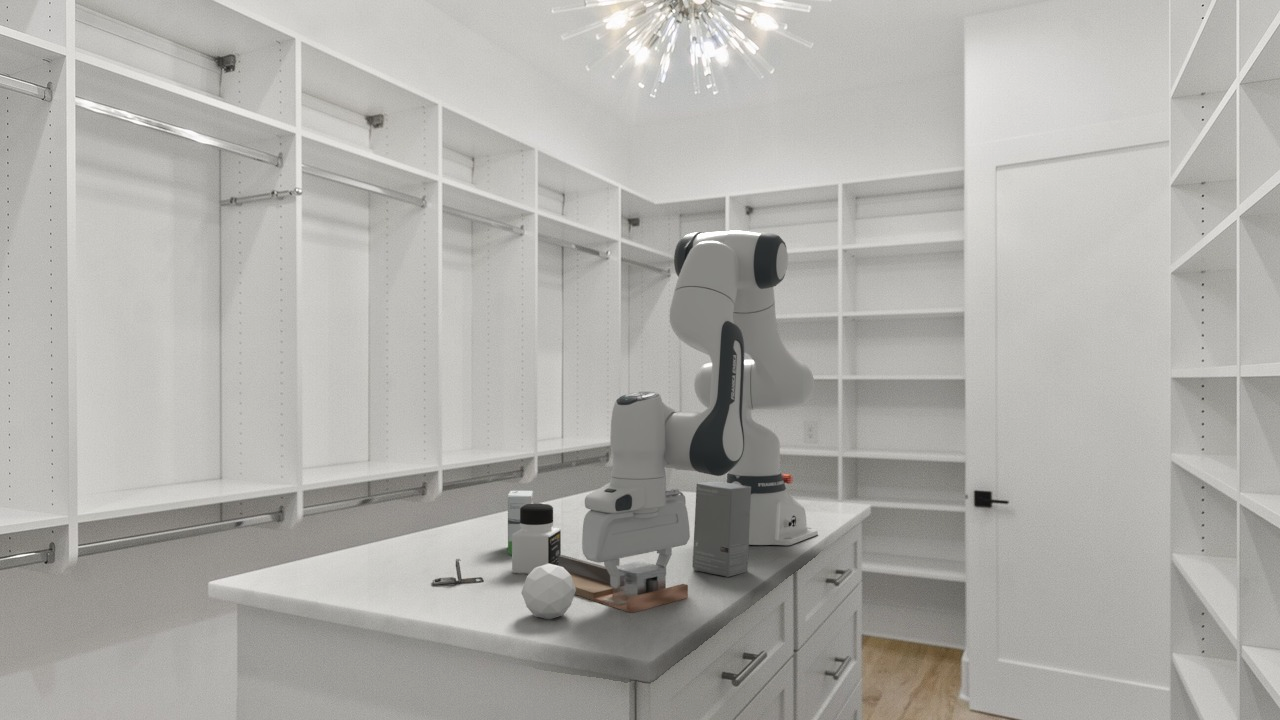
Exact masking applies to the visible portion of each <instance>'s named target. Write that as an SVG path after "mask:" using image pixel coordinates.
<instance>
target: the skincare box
mask: <svg viewBox="0 0 1280 720" xmlns="http://www.w3.org/2000/svg"><path fill="white" fill-rule="evenodd" d="M695 489H696V491H695V509H694V511H695V513H694V530H693V550H692V570H693V571H696V572H701V573H707V574H711V575H717V576H722V577H727V578H729V577H734V576H736V575H741V574H744V573H747V572H749V570H748V567H749V547H750V546H749V525H750V501H751V487H749V486H743V485H738V484H733V483H727V482H723V481H708V482H707V481H706V482H705V481H704V482H702V481H701V482H698V483H696V488H695Z"/></svg>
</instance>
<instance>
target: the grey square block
mask: <svg viewBox="0 0 1280 720" xmlns="http://www.w3.org/2000/svg"><path fill="white" fill-rule="evenodd" d="M617 568H618V571H619V573H620V574H622V575H625V580H624V582H625V585H624V586H622V587H618V588H615V587H612V596H616V597H619V598H622V599H625V600H627V598H629V597H633V596H637V595H641V594H645V593H646V579H648V578H649V579H653V580H656V581H658V590H661V589H665V588H667V585H666V583H667V582H666V580H667V577H666V576H667V568H666V569H665V567H662V566H658V565H656V564H653V563H650V562H645V561H641V560H640V561H633V562H630V563H626V564H621V565H619V566H617Z"/></svg>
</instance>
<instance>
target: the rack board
mask: <svg viewBox="0 0 1280 720" xmlns="http://www.w3.org/2000/svg"><path fill="white" fill-rule="evenodd" d="M558 566H561V567H563V568H564V569H565V570H566V571H567V572H568V573H569V574H570V575H571V577H572V580H573V583H574V585H575V588H576V592H575V595H576V596H579V597H582V598H585V599H588V600H591V601H594V602H596V603H600V604H604V605H607V606H609V607H612V608H614V609H615V608H616V609H619V610H621V611H624V612H628V613H630V614H632V613H637V612H639V611H640V612H641V611H644V610H647V609H651V608H655V607H658V606H662V605H665V604H670V603H673V602H676V601H677V602H678V601H680V600H681V601H682V600H684V599H687V598H688V597H689V589H688V588H689V586H688V584H686V583H681V584H678V585H673V586H669V587H666V588H665V589H661V590H658V581H656V580H653V579H649V578H648V579H646V593H645V594H641V595H637V596H633V597H629V598H627V600H625V599H622V598H619V597H616V596H612V586H611V584H610V575H609V573H608V571H607V569H606V567H605V565H601V564H599V563H595V562H590V561H586V560H583V559H579V558H575V557H572V556H567V555H563V554H561V555H560V556H558ZM575 595H574V596H575Z"/></svg>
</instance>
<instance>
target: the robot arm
mask: <svg viewBox="0 0 1280 720" xmlns="http://www.w3.org/2000/svg"><path fill="white" fill-rule="evenodd" d="M787 248H788V247H787V245H786V242H785V241H784V240H783V239H782V237H781V236H780V235H778V234H775V233H771V232H766V231H763V232H755V231H747V230H729V231H711V232H704V233H703V232H702V231H696V232H691V233H688V234H685V235H684V236H682V238H681V239H680V240H679V241H678V242H677V244H676V246H675V249H674V250H675V251H674V257H673V262H674V271H675V273H676V275H677V277H678V278H677V281H676V283H675V288H674V292H673V295H672V299H671V303H670V308H669V324H670V326H671V329H672V331H673V332H674V334H675V335H676V337H677V338H678V339H679V340H680V341H682V342H683V343H684V344H685V345H687V346H688V347H691V348H693V349H694V350H696V351H698V352H700V353H703V354H705V355H708V356H709V357H710V360H711V361H710V362H707V363H704V364H702V365H701V367H700V368H699V369H698V371H696V372H697V373H696V375H695V378H694V385H693V386H694V391H695V394H696V398H697V399H698V401H699V402H700V403H701V404H702V405H703V406H704V407H706V409H705V410H704V411H702V412H694V411H693V412H691V411H689V412H688V411H686V412H685V411H682V410H681V411H679V410H678V411H677V410H676V409H673V408H671V407H670V406H668V405H666V404H665V402H663V401H662V396H661V394H660V393H658V392H654V391H638V392H631V393H627V394H623V395H621V396H620V397H618V398H617V399H616V400H615V402H614V404H613V407H612V408H613V409H612V411H611V412H612V413H611V420H610V439H609V441H610V451H611V456H612V467H611V471H610V482H608V483H606V484H605V485H603V486H601V487H599V488H598V489H596V490H594V491H592V492H590V493H589V494H587V495H586V496H585V497H584V507H585V508H586V509H588V511H587V512H586V514H585V516H584V518H583V524H582V533H581V535H582V537H581V540H582V541H581V544H582V545H581V548H582V555H584V557H585V558H586V560H588V561H589V562H590V561H591V562H593V563H597V564H600V563H603V564H604V565H603V566H605V567H606V569H607V571H608V573H609V575H610V584H611V586H612V587H615V588H618V587H622V586H624V585H625V582H624V580H625V575H622V574H620V573H619V571H618V568H617V566H620V559H624V558H625V559H626V558H628V557H630V558H631V557H634V556H639V555H643V554H649V553H653V552H656V554H658V558H657V560H656V563H655V565H658V566H662V567H665V569H666V570H667V566H668V563H669V561H670V559H671V557H672V555H673V554H672V553H673V551H672V549H673V548H677V547H683V546H686V545H687V544H688V542H689V540H690V537H691V534H690V532H691V531H690V521H689V513H688V509H687V505H686V496H685V494H684V493H683V492H682V491H680V490H679V489H676V488H673V489H671V490H669V489H667V473H666V469H674V470H679V471H691V472H698V473H702V474H706V475H711V476H715V477H716V476H717V477H721V476H724V475H726V479H725V481H726V482H725V483H733V484H738V485H743V486H749V487H751V501H750V525H749V545H750V546H751V545H752V546H753V545H754V546H770V545H771V546H791V545H794V544H797V543H799V542H801V541H805V540H807V539H809V538H812V537H816V536H818V530H817V529H815V528H813V527H811V526H810V527H809V526H808V524H807V513H806V510H805V507H804V506H803V505H802V504H800V503H799V501H797V500H796V499H795V498H794V496H792V495H791V494H790V493H789V492H787V490H786V489H787V488H786V485H785V484H788V485H789V484H792V483H793V481H794V477H793V475H792V474H787V473H783V474H782V473H781V463H780V462H781V449H780V448H781V446H780V444H781V443H780V439H779V437H778V436H777V434H776V433H775V432H774V431H772V430H771V429H770V428H767V427H766V426H764V425H761V423H758V422H756V421H754V419H753V417H752V415H751V411H754V410H770V411H771V410H777V411H778V410H789V409H790V410H791V409H795V408H800V407H803V406H806V404H808V402H809V401H810V399H811V398H812V396H813V393H814V390H815V379H814V375H813V373H812V370H811V369H810V367H809V366H808V365H807V364H806V363H805V362H803V361H802V360H800V359H799V358H797V357H796V356H794V354H792V353H791V352H790V351H789V350H788V349H787V347H786V346H785V344H784V343H783V341H782V339H781V336H780V334H779V330H778V324H777V323H778V322H777V315H776V305H775V304H776V300H775V289H774V287H776V286H777V285H779V284H780V283H781V282H782V281H783V280H784V278H785V276H786V272H787V270H788V266H789V256H788V255H789V254H788V251H787V250H788V249H787ZM745 355H746V356H748V357H749V359H745Z"/></svg>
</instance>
